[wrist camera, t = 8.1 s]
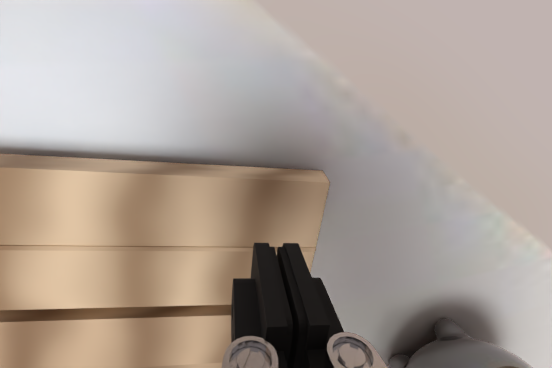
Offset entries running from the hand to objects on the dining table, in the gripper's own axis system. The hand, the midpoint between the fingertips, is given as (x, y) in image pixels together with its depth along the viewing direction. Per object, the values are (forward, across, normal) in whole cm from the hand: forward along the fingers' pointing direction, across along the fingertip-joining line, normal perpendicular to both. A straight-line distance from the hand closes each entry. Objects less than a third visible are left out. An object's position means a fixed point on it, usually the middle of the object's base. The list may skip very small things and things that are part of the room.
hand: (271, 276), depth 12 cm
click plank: (+8, +6, +3) cm, 11 cm away
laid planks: (+9, +6, +13) cm, 17 cm away
